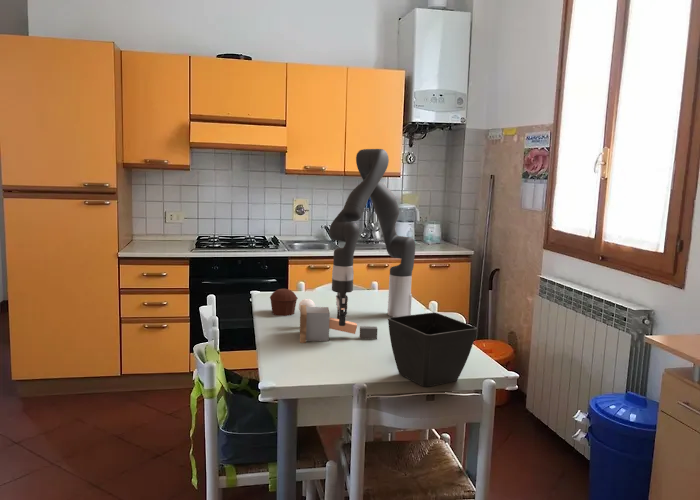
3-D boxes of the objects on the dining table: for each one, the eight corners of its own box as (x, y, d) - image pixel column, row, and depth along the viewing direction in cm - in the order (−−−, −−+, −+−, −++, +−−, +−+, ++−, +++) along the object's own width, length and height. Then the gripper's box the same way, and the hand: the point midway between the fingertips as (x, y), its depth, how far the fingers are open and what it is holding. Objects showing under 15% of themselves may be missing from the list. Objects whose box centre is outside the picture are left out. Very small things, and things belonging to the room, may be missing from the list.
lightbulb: (311, 330, 219) (312, 301, 217) (296, 328, 220) (296, 299, 219) (316, 326, 225) (317, 297, 223) (300, 324, 226) (301, 296, 225)
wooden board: (305, 331, 217) (305, 305, 215) (305, 342, 203) (306, 314, 201) (299, 331, 216) (300, 305, 215) (299, 342, 203) (300, 314, 201)
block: (327, 333, 215) (328, 307, 214) (328, 341, 206) (329, 313, 205) (305, 333, 214) (306, 306, 213) (305, 340, 205) (306, 312, 204)
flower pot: (474, 383, 171) (479, 326, 169) (424, 394, 161) (428, 334, 158) (431, 363, 187) (435, 311, 184) (383, 372, 176) (386, 318, 174)
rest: (375, 337, 214) (376, 326, 213) (377, 339, 211) (377, 328, 210) (359, 336, 213) (359, 326, 212) (360, 339, 210) (360, 328, 210)
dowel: (354, 331, 213) (356, 323, 212) (355, 334, 210) (357, 325, 209) (310, 322, 211) (313, 313, 210) (311, 324, 208) (313, 315, 207)
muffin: (264, 311, 244) (264, 288, 242) (287, 308, 250) (287, 285, 249) (279, 318, 234) (279, 293, 233) (302, 314, 241) (303, 291, 240)
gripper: (355, 282, 201) (353, 328, 204) (351, 274, 215) (349, 317, 218) (333, 281, 201) (331, 327, 203) (330, 273, 215) (329, 317, 217)
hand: (341, 322), depth 210 cm, fingers open, 8 cm apart
